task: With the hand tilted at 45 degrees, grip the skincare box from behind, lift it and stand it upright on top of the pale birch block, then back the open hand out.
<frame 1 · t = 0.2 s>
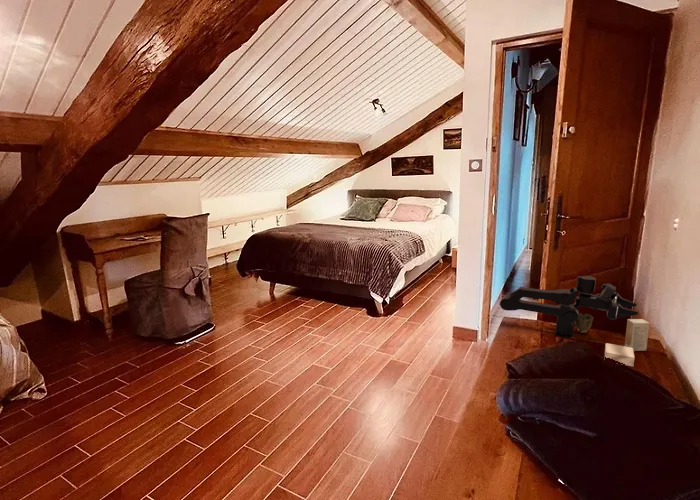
hand: (637, 309, 159), 16 cm above the bench, tool horizontal, fingers open, 9 cm apart
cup: (581, 332, 177), on the bench
birch block: (618, 359, 153), on the bench
skincare box: (634, 348, 160), on the bench
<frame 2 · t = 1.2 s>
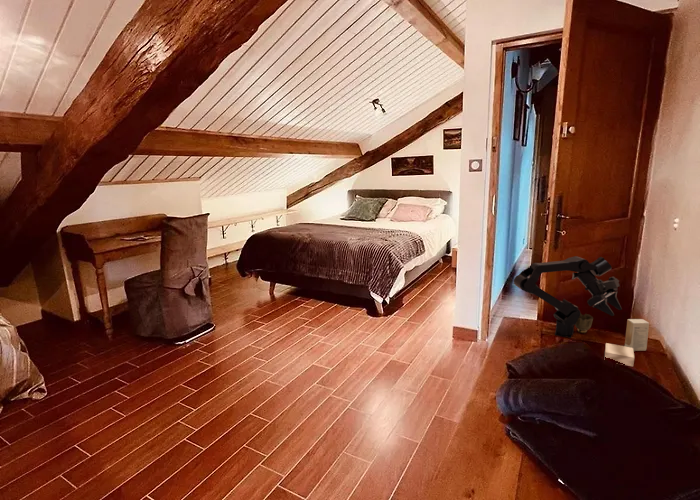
hand: (617, 312, 163), 14 cm above the bench, tool tilted 45°, fingers open, 9 cm apart
nothing on the bench moved.
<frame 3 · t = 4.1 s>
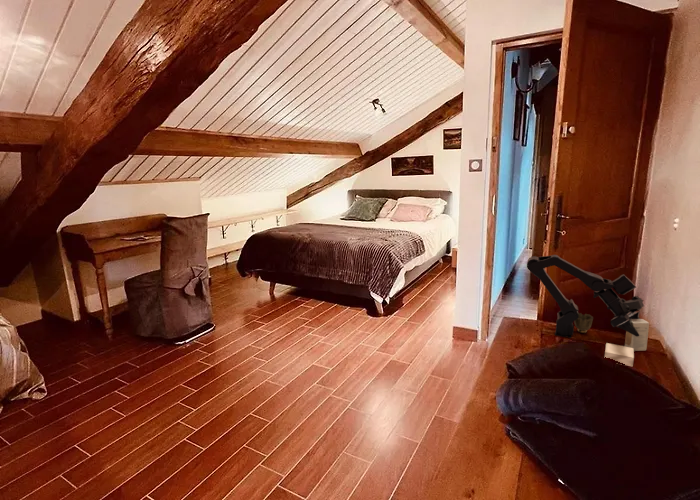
hand: (641, 333, 157), 7 cm above the bench, tool tilted 45°, fingers closed on skincare box, 7 cm apart
skincare box: (634, 348, 160), on the bench, touching gripper
everything else where it was.
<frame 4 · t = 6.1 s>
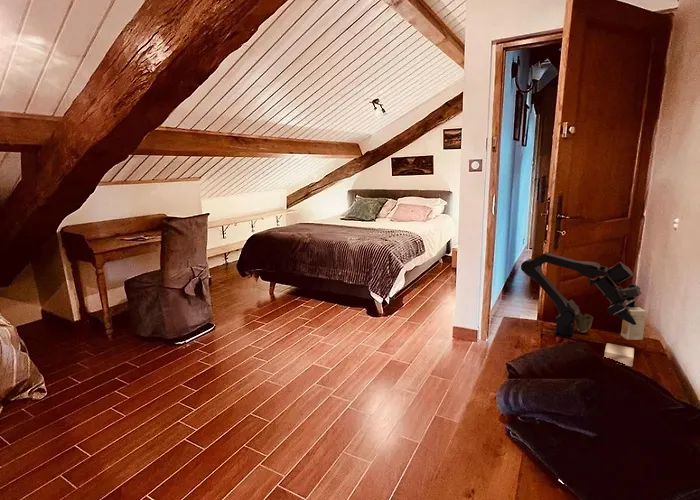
hand: (637, 321, 154), 13 cm above the bench, tool tilted 45°, fingers closed on skincare box, 7 cm apart
skincare box: (630, 338, 157), point 6 cm above the bench, touching gripper
everything else where it was.
when the fingers open (12 cm above the bench, at t = 8.2 s): skincare box drops 1 cm, resting on birch block.
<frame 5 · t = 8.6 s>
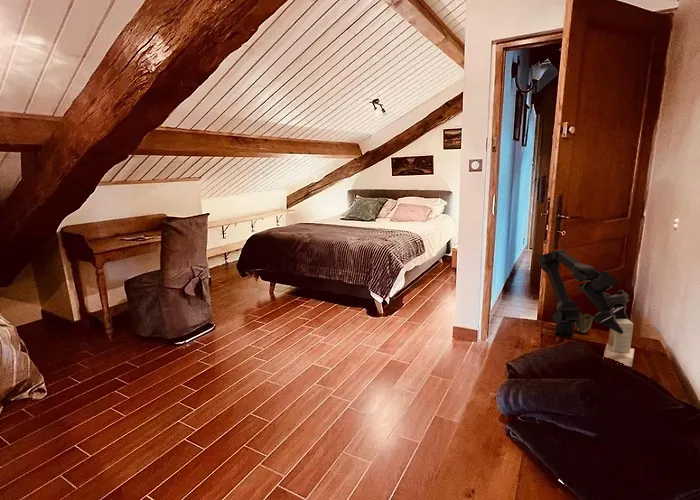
hand: (626, 329, 149), 13 cm above the bench, tool tilted 45°, fingers open, 9 cm apart
birch block: (618, 359, 153), on the bench, touching skincare box
skincare box: (618, 350, 152), point 3 cm above the bench, touching birch block
everything else where it was.
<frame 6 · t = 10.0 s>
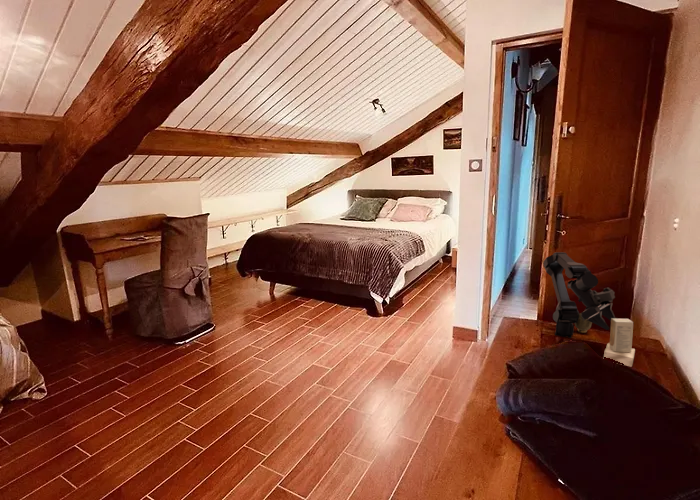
hand: (612, 326, 152), 13 cm above the bench, tool tilted 45°, fingers open, 9 cm apart
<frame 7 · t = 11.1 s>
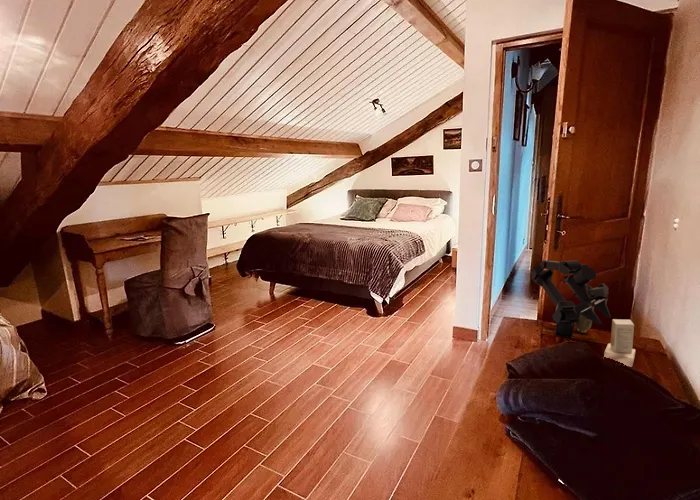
hand: (605, 320, 158), 12 cm above the bench, tool tilted 45°, fingers open, 9 cm apart
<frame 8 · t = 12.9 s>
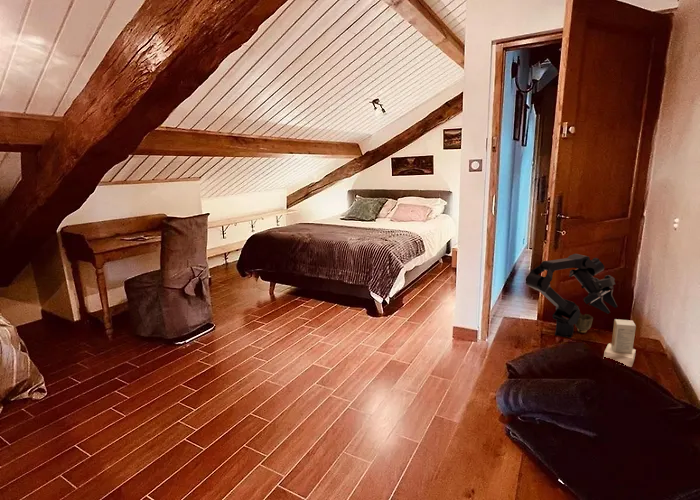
hand: (612, 310, 165), 14 cm above the bench, tool tilted 45°, fingers open, 9 cm apart
birch block: (619, 359, 152), on the bench
skincare box: (620, 350, 152), point 4 cm above the bench
everything else where it was.
at the end: skincare box 0.4 cm off-centre on the birch block, point 4.1 cm above the birch block's base; skincare box tilted 5°; the gripper is holding nothing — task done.
